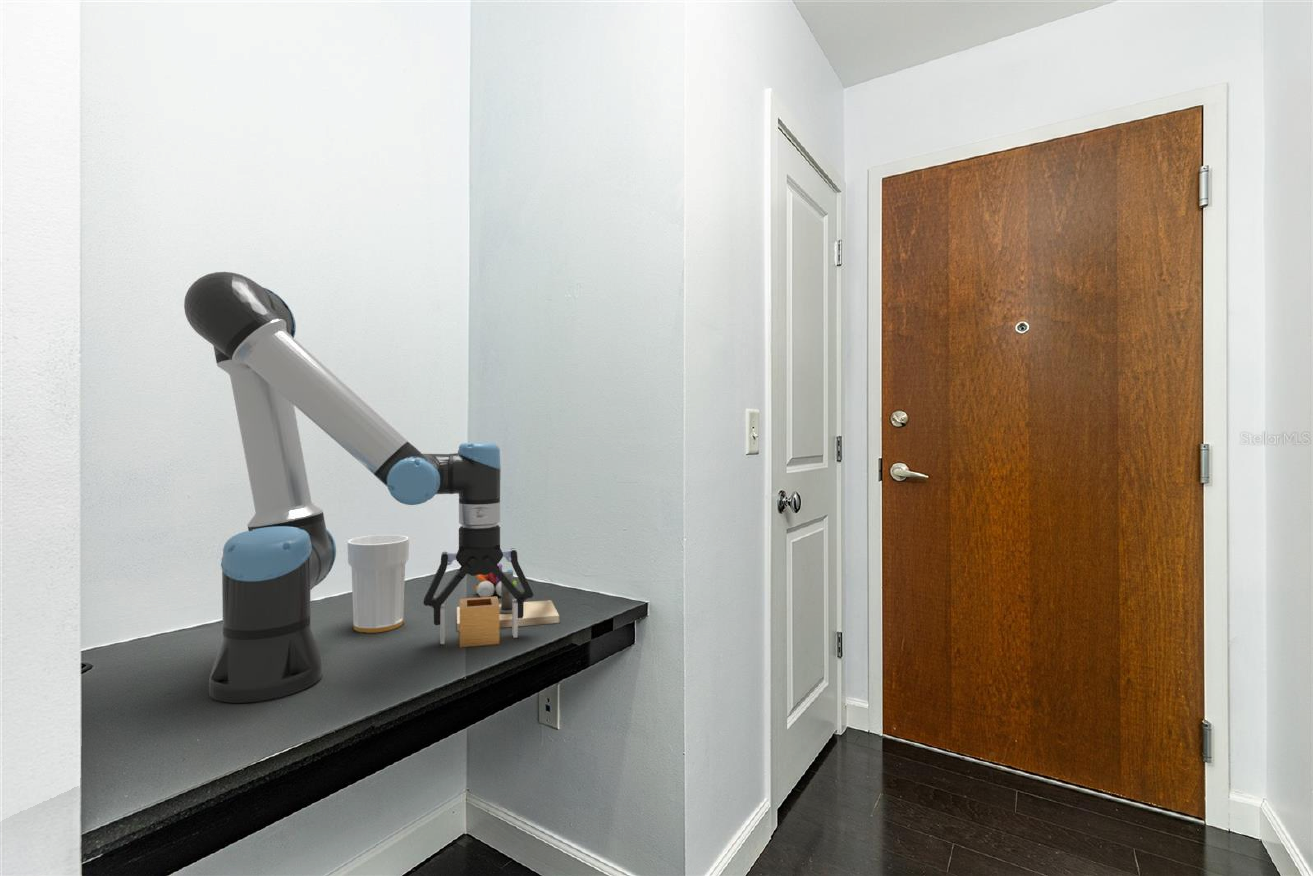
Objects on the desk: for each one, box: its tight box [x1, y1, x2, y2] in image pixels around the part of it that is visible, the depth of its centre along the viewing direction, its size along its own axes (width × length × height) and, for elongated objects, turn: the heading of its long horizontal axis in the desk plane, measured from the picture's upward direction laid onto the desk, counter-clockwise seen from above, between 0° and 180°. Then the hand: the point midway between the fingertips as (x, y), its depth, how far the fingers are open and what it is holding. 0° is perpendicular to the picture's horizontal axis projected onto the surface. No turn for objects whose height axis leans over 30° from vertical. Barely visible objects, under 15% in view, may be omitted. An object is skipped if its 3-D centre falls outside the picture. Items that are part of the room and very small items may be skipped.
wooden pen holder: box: [459, 595, 500, 648], centre depth 120 cm, size 7×7×7 cm
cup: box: [347, 534, 410, 634], centre depth 128 cm, size 11×11×17 cm
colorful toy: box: [474, 563, 518, 598], centre depth 152 cm, size 8×10×7 cm
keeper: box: [456, 571, 560, 632], centre depth 133 cm, size 20×12×10 cm, turn 107°
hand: (479, 638), depth 120 cm, fingers open, 12 cm apart
